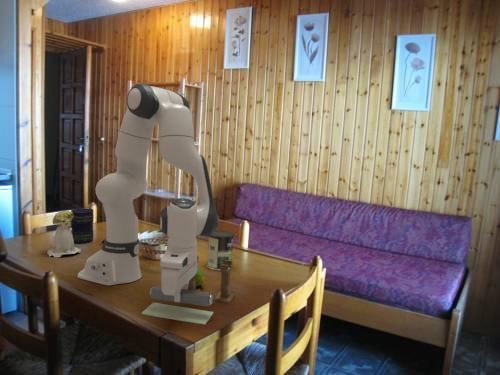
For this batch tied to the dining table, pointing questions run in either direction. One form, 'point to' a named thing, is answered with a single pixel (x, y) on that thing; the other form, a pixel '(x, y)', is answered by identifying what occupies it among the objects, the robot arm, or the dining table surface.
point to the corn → (199, 277)
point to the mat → (178, 313)
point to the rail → (184, 296)
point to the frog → (63, 235)
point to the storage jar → (82, 225)
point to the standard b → (225, 283)
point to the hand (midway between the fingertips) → (180, 298)
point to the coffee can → (219, 249)
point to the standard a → (193, 282)
